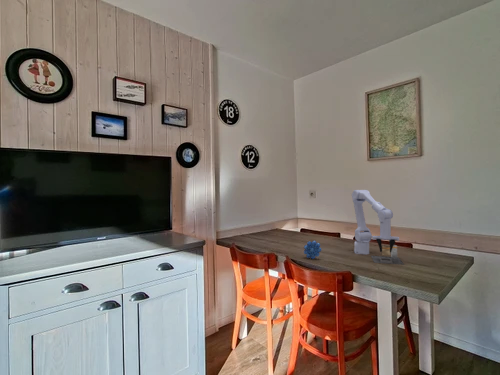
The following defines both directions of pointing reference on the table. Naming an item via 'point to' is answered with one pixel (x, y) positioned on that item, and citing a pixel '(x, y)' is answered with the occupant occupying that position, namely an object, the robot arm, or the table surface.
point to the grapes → (312, 249)
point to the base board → (384, 259)
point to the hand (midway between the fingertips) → (385, 251)
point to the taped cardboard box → (385, 250)
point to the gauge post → (394, 252)
